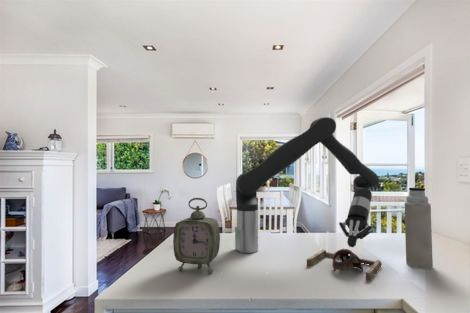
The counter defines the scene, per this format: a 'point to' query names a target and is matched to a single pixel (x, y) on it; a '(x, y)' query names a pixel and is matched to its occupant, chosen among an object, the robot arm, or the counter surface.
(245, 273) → the counter surface
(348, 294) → the counter surface
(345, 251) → the pottery mug
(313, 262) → the walnut mug dock
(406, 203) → the thermos bottle
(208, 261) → the tabletop clock
